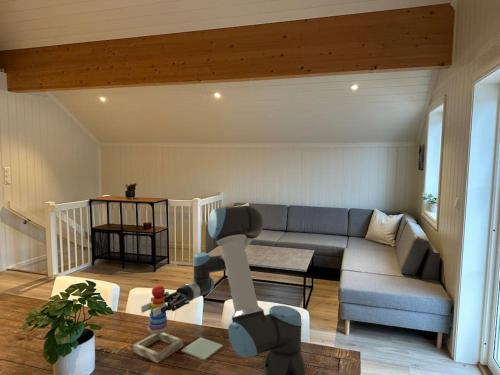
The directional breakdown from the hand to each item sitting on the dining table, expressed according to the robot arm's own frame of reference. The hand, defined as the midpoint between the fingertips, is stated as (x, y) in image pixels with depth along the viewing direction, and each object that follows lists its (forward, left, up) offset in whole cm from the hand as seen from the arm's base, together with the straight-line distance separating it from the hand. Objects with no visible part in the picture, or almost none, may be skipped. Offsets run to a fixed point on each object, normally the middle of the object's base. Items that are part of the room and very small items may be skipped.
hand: (147, 311), depth 135 cm
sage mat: (-15, -15, -18) cm, 28 cm away
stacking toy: (0, -5, -10) cm, 12 cm away
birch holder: (0, -5, -18) cm, 19 cm away
